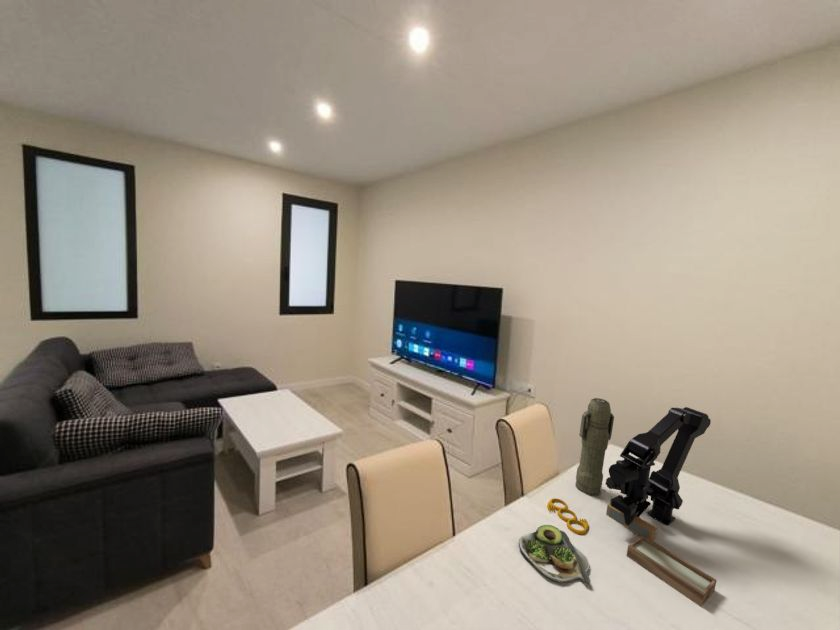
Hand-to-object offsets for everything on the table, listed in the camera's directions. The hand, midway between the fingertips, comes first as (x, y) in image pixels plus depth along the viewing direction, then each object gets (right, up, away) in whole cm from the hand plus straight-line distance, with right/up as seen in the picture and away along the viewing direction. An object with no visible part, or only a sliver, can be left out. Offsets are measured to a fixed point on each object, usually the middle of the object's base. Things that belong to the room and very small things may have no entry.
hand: (630, 522), depth 116 cm
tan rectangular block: (0, -1, 0) cm, 1 cm away
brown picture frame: (0, -3, -18) cm, 18 cm away
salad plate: (-31, -1, -15) cm, 34 cm away
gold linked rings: (-20, 0, +3) cm, 20 cm away
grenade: (-5, +1, +20) cm, 20 cm away
